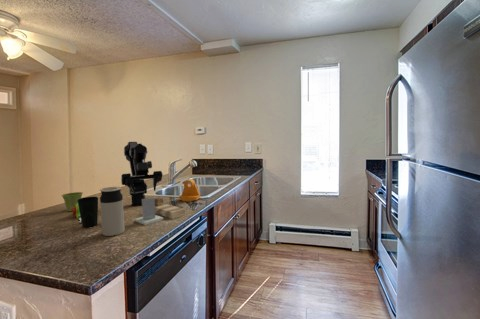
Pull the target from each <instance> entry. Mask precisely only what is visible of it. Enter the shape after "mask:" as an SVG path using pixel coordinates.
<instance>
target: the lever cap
mask: <svg viewBox="0 0 480 319" xmlns="http://www.w3.org/2000/svg"><path fill="white" fill-rule="evenodd" d="M154 198H155V197H148V198H147V197H145V199H142V205H141V208H142V209H141V210H142V217H143V220H147V219H153V218H155V215H156V213H155V201H154Z"/></svg>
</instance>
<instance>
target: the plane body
mask: <svg viewBox="0 0 480 319" xmlns="http://www.w3.org/2000/svg"><path fill="white" fill-rule="evenodd" d="M153 198H154V201H155V215H158V216H161V217H162V216H163V217H166V218H169V219H171V220H172V219H173V220H174V219H177V218H179V217H180V218H181V217H184V216H186V212H185V211H186V209H185V208H182V207H178V206H174V205H171V204H167V203H164V198H163V197H153Z"/></svg>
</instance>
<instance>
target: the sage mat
mask: <svg viewBox="0 0 480 319" xmlns="http://www.w3.org/2000/svg"><path fill="white" fill-rule="evenodd" d="M163 220H164V216H163V217H162V216H161V215H158V214H155V218H153V219H147V220H143V216H140V217H137V218H134V222H137V223H139V224H142V225H143V226H146V225H147V226H148V225H149V224H154V223H157V222H160V221H163Z"/></svg>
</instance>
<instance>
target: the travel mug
mask: <svg viewBox="0 0 480 319" xmlns="http://www.w3.org/2000/svg"><path fill="white" fill-rule="evenodd" d="M121 190H122V187H121V186H108V187H104V188H100V189H99V191H100V197H99V204H100V216H101V217H100V218H101V230H102V232H101V233H102V235H103V236H105V237H115V236H118V235H121V234H123V233H124V232H125V230H126V228H125V212H124V200H123V198H124V197H123V194H122V192H121ZM114 235H115V236H114Z"/></svg>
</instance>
